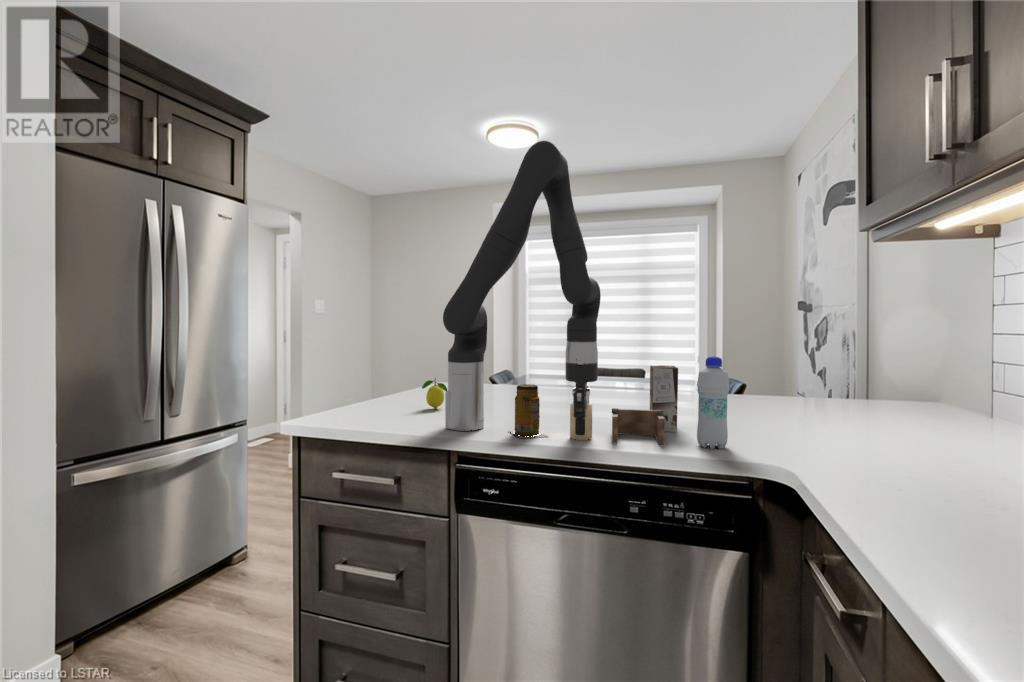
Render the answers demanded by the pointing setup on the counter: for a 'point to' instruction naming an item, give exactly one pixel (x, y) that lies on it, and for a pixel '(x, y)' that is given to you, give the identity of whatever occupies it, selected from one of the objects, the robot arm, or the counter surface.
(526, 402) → the condiment
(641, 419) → the holder
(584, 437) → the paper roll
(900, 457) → the counter surface
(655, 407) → the coffee box
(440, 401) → the lemon
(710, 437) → the bottle
